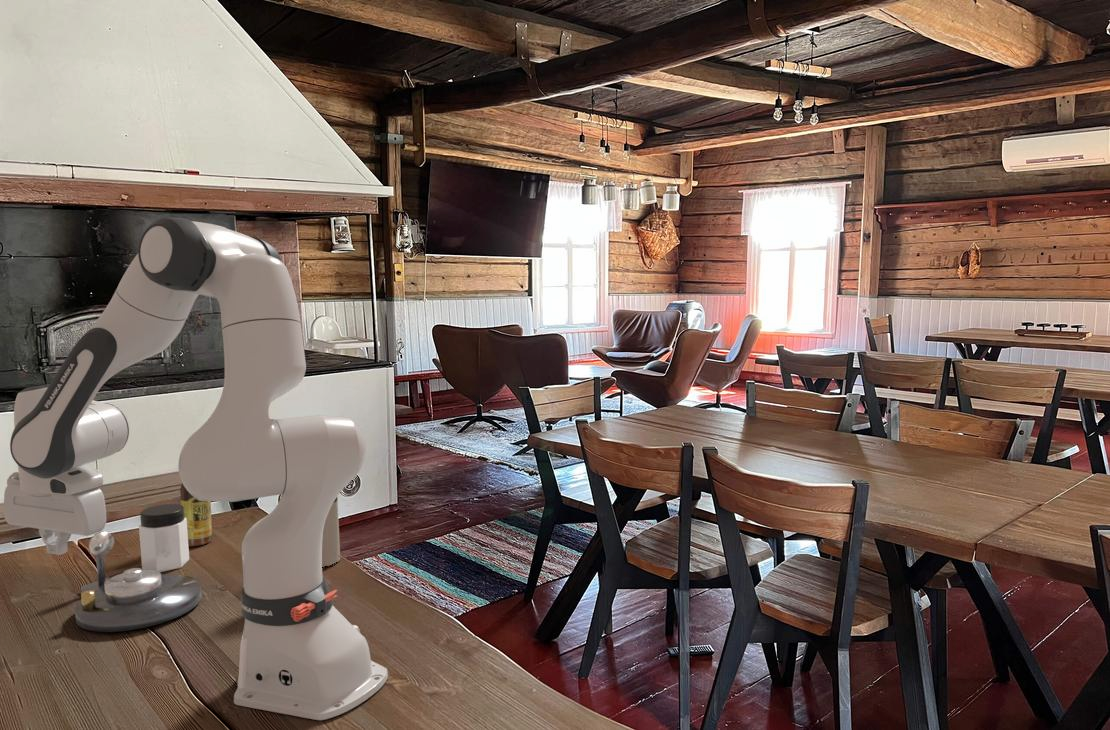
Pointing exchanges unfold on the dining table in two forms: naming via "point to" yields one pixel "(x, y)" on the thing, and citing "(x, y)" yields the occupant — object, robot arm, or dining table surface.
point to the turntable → (138, 606)
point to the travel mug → (331, 537)
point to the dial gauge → (99, 557)
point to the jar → (163, 537)
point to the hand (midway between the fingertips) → (57, 552)
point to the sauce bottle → (196, 518)
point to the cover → (133, 587)
